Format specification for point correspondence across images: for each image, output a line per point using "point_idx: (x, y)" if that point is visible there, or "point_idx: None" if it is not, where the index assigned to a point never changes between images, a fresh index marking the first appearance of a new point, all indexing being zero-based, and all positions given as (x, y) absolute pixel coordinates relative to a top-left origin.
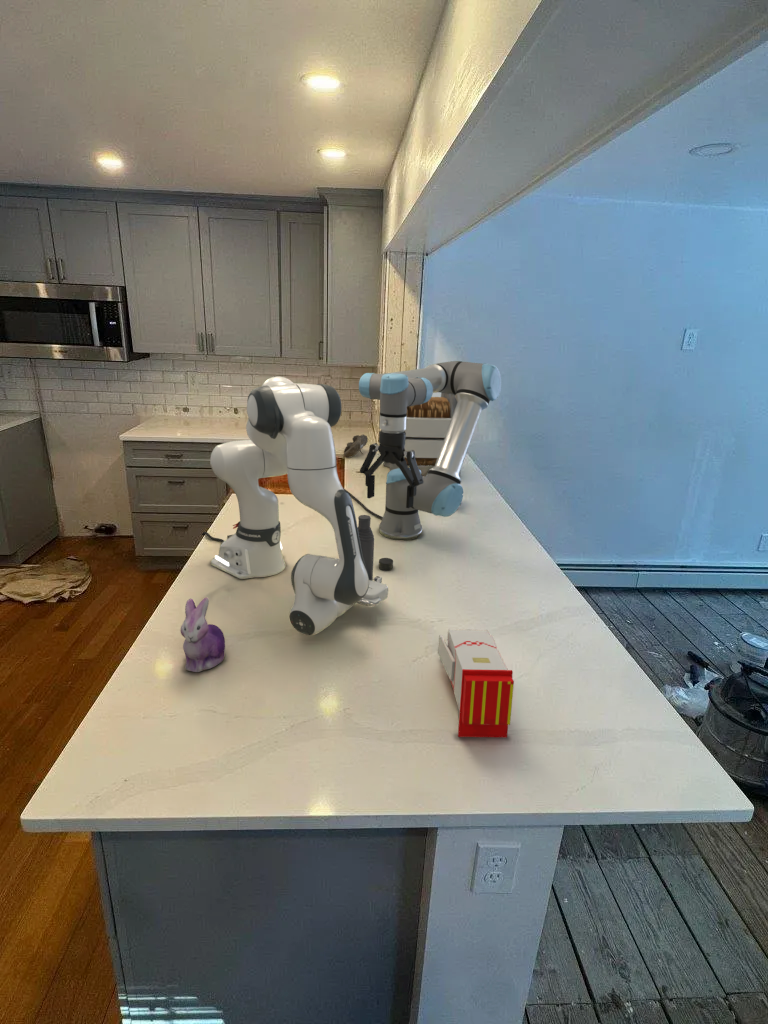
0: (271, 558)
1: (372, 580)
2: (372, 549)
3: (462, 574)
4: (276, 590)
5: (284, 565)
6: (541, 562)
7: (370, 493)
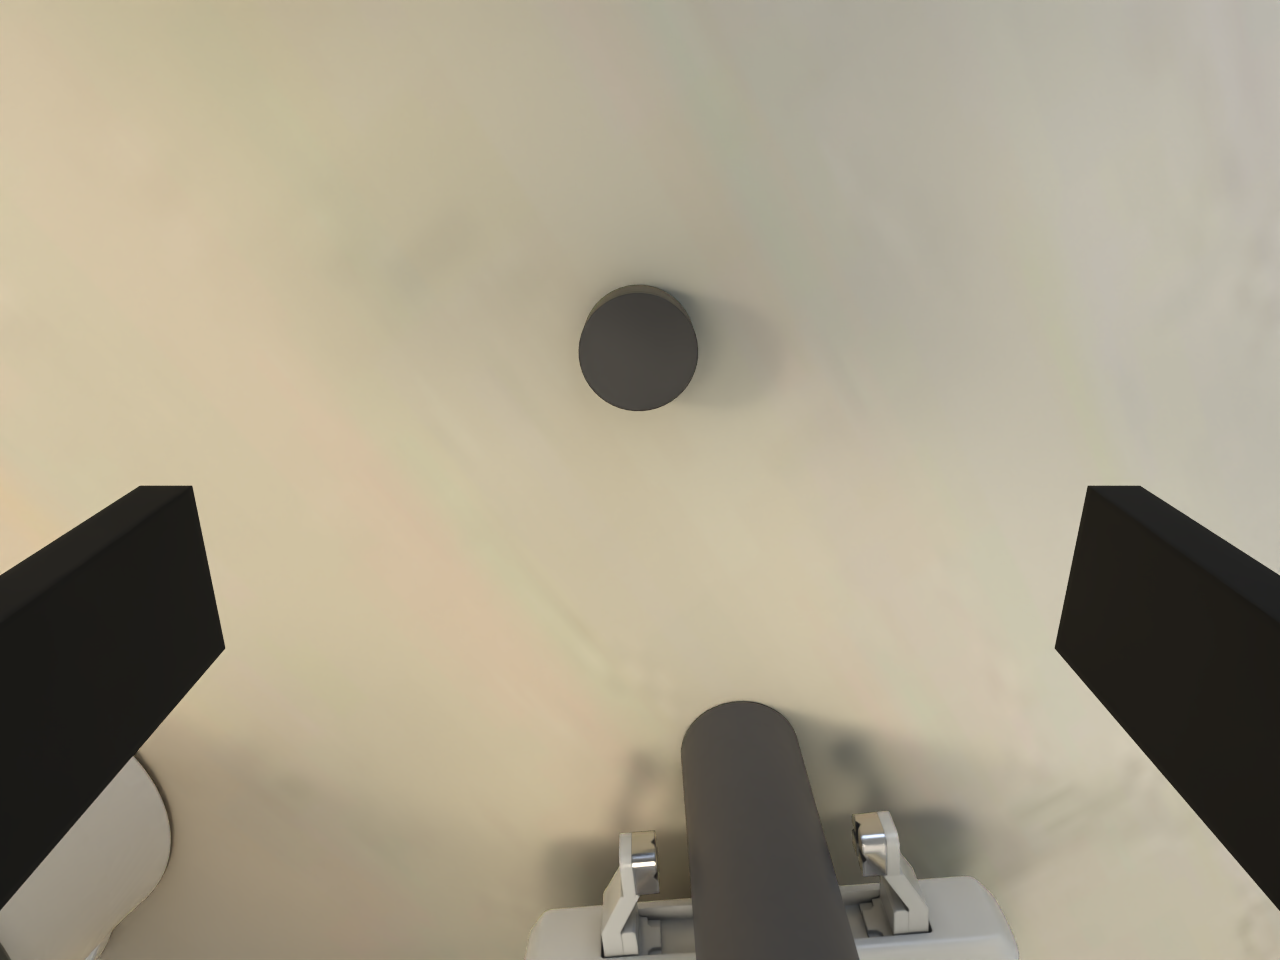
0: (85, 925)
1: (816, 809)
2: None
3: (1233, 34)
4: (328, 936)
5: None
6: None
7: (169, 663)
